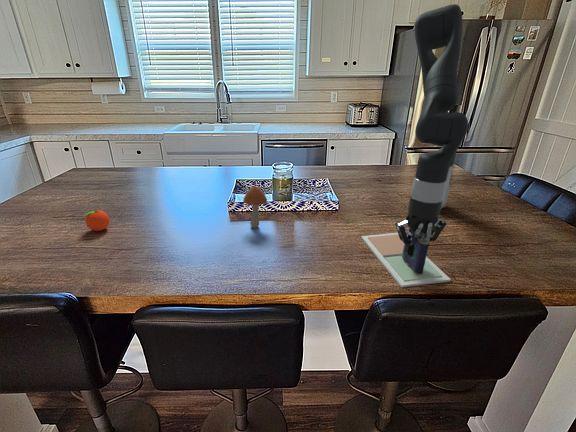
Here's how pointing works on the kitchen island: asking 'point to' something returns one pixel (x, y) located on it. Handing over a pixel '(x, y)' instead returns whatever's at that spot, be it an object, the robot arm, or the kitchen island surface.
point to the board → (402, 261)
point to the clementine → (97, 220)
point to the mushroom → (255, 203)
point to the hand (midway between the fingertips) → (414, 254)
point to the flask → (417, 254)
